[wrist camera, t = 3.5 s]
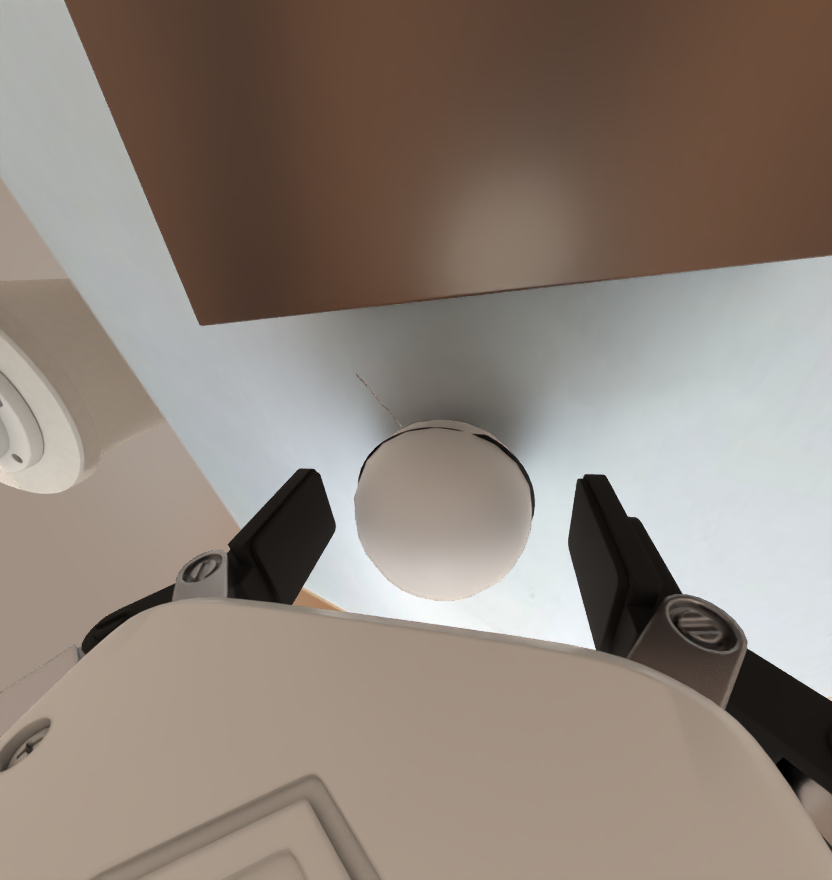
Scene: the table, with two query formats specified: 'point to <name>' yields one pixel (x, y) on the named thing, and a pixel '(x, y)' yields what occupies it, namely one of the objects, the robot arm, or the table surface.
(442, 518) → the cream oval egg shape
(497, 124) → the shelf
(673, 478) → the table surface
